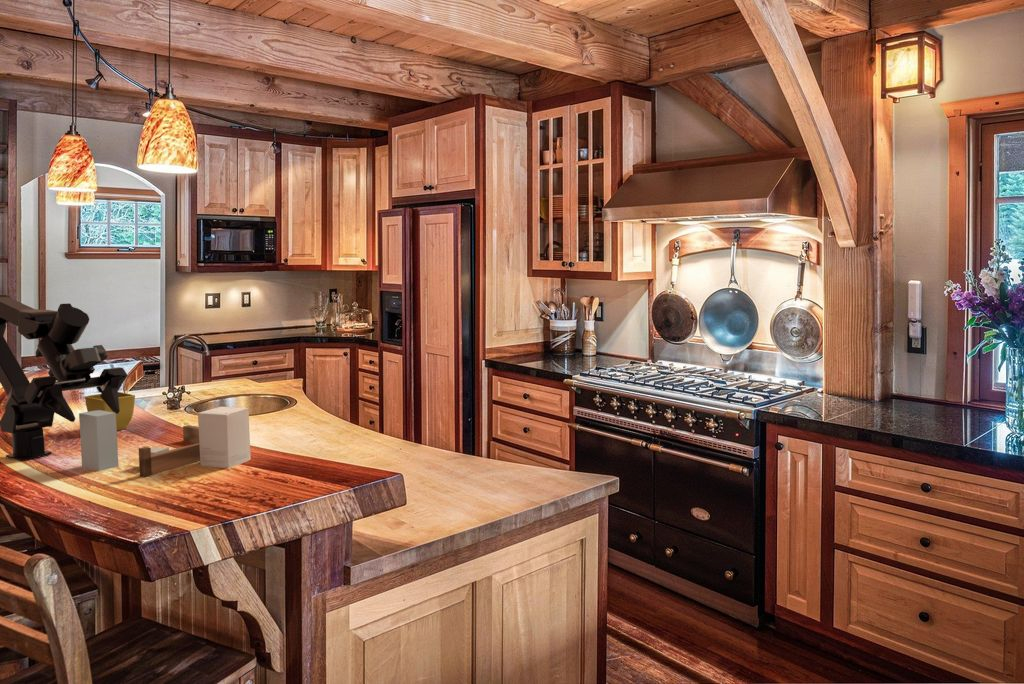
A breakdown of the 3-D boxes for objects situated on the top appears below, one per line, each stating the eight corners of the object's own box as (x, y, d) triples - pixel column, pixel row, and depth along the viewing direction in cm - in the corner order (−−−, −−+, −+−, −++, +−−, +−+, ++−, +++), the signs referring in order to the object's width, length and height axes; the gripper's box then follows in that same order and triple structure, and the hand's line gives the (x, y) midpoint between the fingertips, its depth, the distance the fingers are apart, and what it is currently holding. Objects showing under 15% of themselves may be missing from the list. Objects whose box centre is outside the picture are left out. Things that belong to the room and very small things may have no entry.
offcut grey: (138, 458, 151) (138, 451, 151) (153, 453, 155) (153, 446, 154) (155, 459, 150) (154, 452, 149) (169, 454, 153) (169, 447, 153)
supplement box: (252, 466, 158) (250, 408, 157) (228, 475, 151) (226, 414, 150) (223, 463, 160) (221, 405, 159) (199, 472, 153) (196, 412, 152)
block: (82, 470, 152) (79, 413, 150) (101, 466, 155) (98, 409, 154) (99, 475, 149) (96, 416, 147) (118, 470, 152) (115, 412, 151)
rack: (86, 473, 152) (84, 439, 151) (188, 446, 175) (187, 416, 174) (145, 484, 145) (143, 449, 144) (244, 454, 167) (243, 424, 167)
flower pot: (137, 428, 193) (136, 394, 192) (104, 435, 186) (102, 399, 185) (118, 424, 198) (117, 391, 197) (85, 430, 190) (83, 396, 190)
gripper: (28, 337, 144) (64, 398, 139) (120, 329, 160) (154, 384, 155) (9, 374, 148) (43, 434, 144) (100, 363, 164) (133, 417, 160)
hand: (96, 416), depth 151 cm, fingers open, 9 cm apart
